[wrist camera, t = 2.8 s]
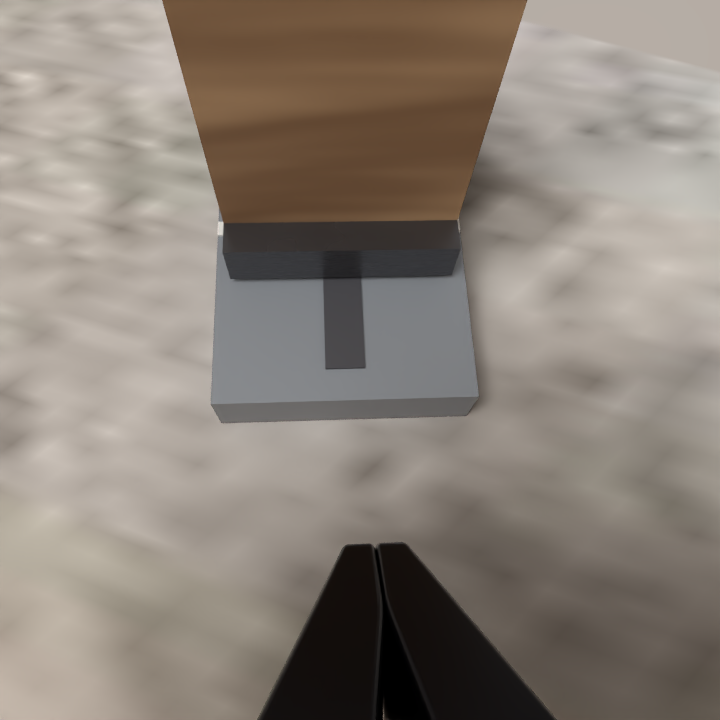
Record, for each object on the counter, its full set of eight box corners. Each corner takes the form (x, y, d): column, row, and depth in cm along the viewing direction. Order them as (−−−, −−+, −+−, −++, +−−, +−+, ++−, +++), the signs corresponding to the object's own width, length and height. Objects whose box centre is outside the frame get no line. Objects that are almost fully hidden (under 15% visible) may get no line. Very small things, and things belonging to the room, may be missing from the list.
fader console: (466, 415, 21) (479, 395, 19) (221, 423, 21) (209, 402, 19) (429, 67, 27) (436, 24, 25) (234, 67, 27) (226, 23, 25)
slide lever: (451, 275, 21) (598, -145, 9) (230, 278, 20) (101, -153, 9) (440, 171, 22) (555, -300, 11) (234, 174, 22) (126, -313, 10)
